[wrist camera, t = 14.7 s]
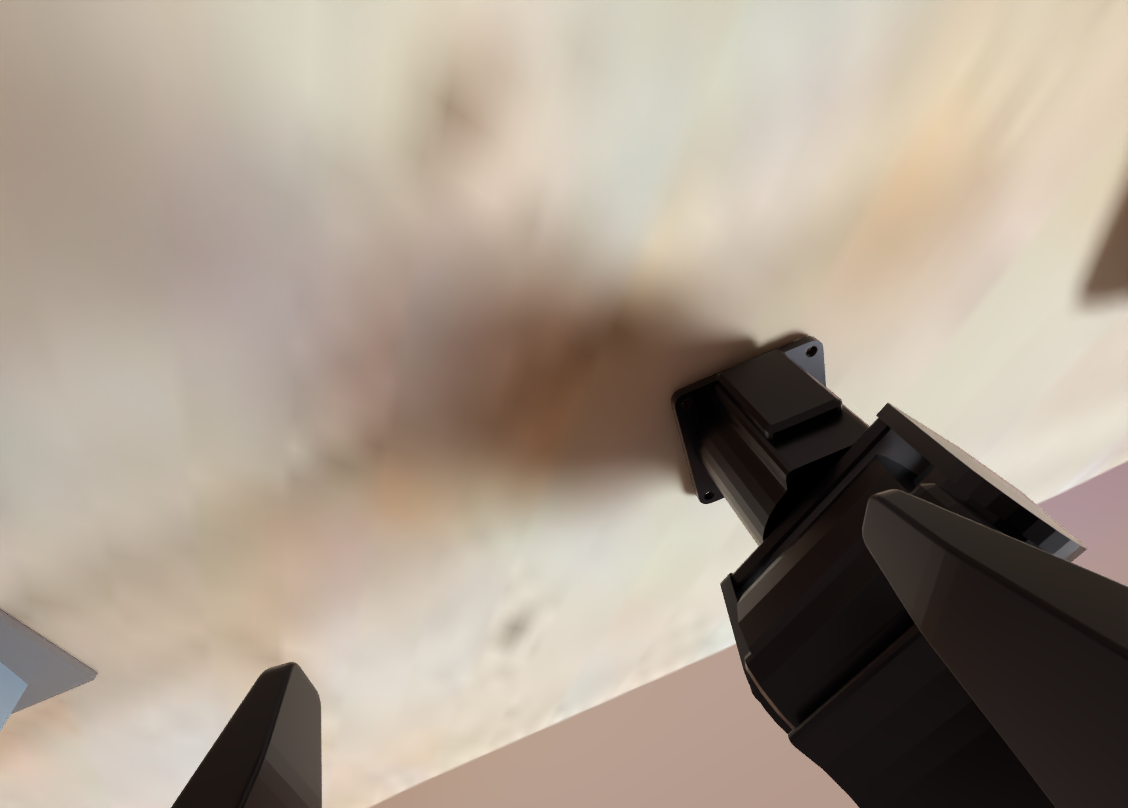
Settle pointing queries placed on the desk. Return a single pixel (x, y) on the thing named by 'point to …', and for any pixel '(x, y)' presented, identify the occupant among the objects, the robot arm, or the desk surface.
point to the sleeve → (9, 692)
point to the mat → (38, 663)
